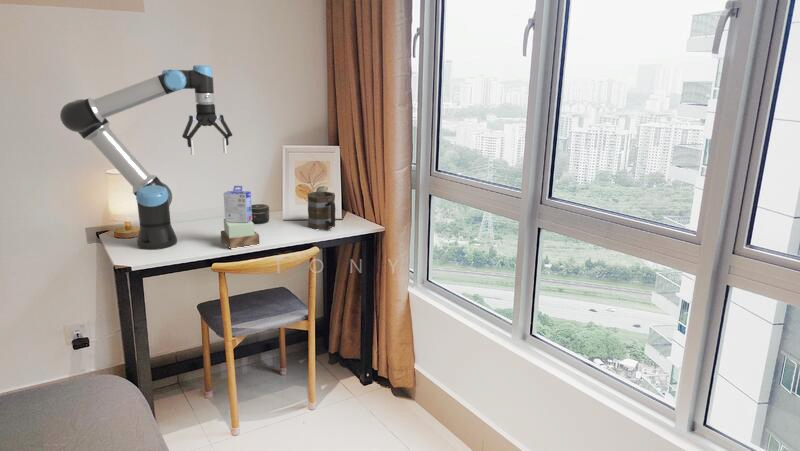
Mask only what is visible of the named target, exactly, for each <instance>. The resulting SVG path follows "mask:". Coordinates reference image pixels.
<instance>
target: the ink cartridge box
mask: <svg viewBox="0 0 800 451" xmlns="http://www.w3.org/2000/svg"><path fill="white" fill-rule="evenodd" d="M238 188H239V189H238ZM223 204H224V205H223V206H224V219H225V221H226V222H249V221H251V220H252V206H251V205H252V193H251V191H247V190H245V191H243V185H233V189H232V190H228V191H225V192H223Z"/></svg>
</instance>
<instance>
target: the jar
mask: <svg viewBox="0 0 800 451" xmlns="http://www.w3.org/2000/svg"><path fill="white" fill-rule="evenodd" d="M251 206H252V220H251V221H252V222H253V223H254V225H264V224H267V223H268V222H269V221H270V206H269V205H267V204H262V203H261V204H259V203H258V204H251Z"/></svg>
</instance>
